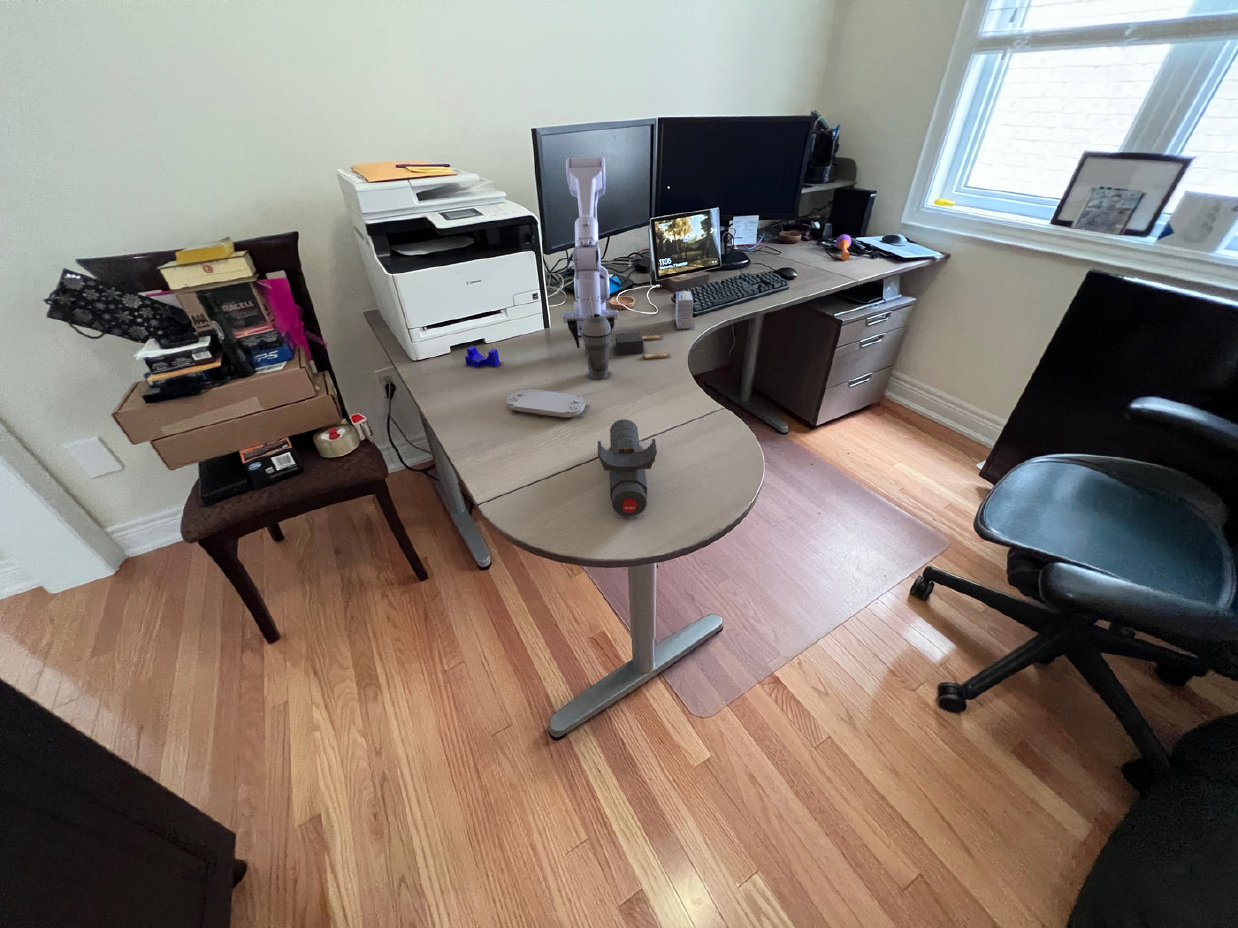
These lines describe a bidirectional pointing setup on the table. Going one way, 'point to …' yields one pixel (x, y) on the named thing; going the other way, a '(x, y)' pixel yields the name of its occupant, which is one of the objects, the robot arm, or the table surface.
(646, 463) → the laser sight
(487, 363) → the cable holder
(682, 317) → the medicine box
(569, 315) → the robot arm
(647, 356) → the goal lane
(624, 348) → the black block
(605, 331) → the beverage cup
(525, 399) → the game console
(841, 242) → the kendama
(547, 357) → the table surface
